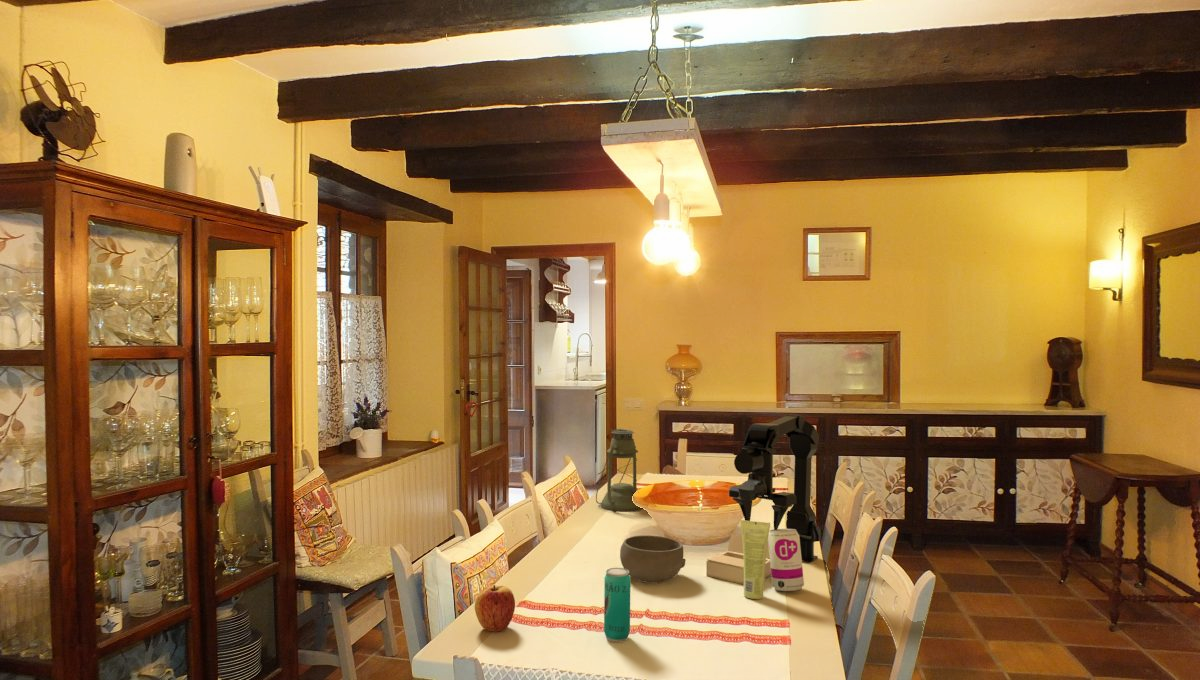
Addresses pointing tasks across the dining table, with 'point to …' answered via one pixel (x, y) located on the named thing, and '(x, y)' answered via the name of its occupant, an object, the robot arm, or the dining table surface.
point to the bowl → (652, 558)
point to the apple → (495, 607)
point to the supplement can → (785, 559)
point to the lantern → (622, 492)
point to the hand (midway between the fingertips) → (761, 526)
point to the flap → (740, 545)
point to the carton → (730, 567)
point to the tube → (754, 557)
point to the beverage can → (617, 604)
